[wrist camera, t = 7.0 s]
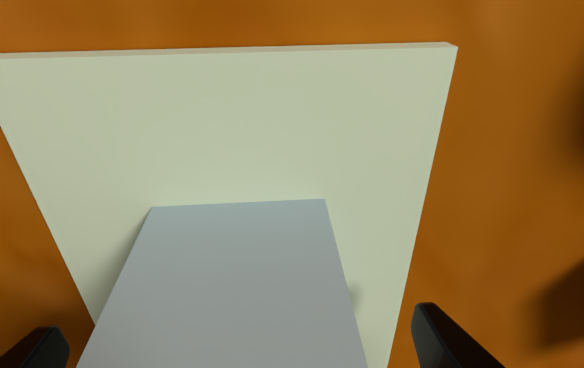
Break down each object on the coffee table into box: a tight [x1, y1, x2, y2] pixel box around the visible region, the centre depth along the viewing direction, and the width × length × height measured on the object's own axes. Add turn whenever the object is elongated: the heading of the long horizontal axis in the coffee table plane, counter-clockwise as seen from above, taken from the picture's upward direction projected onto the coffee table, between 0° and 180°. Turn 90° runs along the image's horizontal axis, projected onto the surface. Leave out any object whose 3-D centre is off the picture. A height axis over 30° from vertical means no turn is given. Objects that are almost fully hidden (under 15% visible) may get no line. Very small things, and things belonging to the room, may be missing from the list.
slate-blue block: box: [76, 199, 368, 368], centre depth 8 cm, size 4×4×5 cm
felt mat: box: [0, 42, 458, 368], centre depth 11 cm, size 12×10×1 cm
